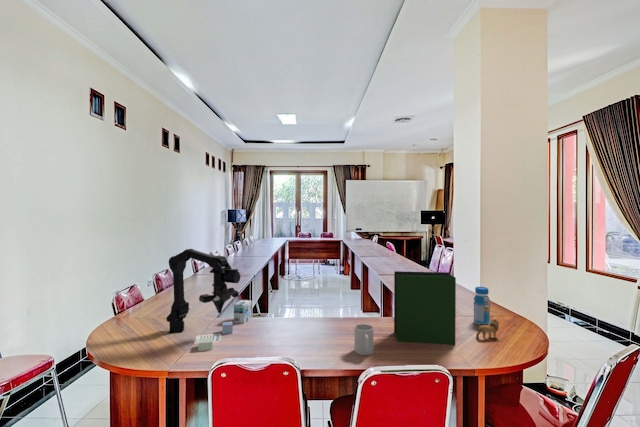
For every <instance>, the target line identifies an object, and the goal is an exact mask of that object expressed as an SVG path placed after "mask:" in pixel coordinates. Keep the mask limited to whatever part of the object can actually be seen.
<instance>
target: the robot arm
mask: <svg viewBox="0 0 640 427" xmlns="http://www.w3.org/2000/svg"><path fill="white" fill-rule="evenodd" d="M191 259H192V260H195V261H197V262H198V261H199V262H202V263H204V264H207V265H208V266H209V267H210V268H211V270H209V273H211V274H213V283H212V288H213V291H212V295H210V294H208V293H205V294H200V295H199V297H198V301H199V302H201V303H203V304H204V303H205V304H206V303H211V302H212V304H214V306H215V309H216V311H217V314H221V312H222V311H223V308H224V305H225V303H226V302H227V301H229V300H230V299H231V297H232V298H239V295H240V294H239V293H240V292H239V291H238V290H237V289H236V290H235V288H234V287H229V288H228V285H227V283H229V284H238V283H239V282H240V280H241V273H240V272H239V269H238V268H234V269H233V268H232V266H231V265H230V263H229V262H228V260H227V257H226V256H224V255H211V254H208V253H206V252H202V251H199V250H196V249H193V248H186V249H185V250H183V251H182V252H179V253H178V254H175V255H173V256H170V258H169V259H168V265H169V269H170V271H171V273H172V281H173V282H172V283H173V303H172V305H171V307H170V308H171V309H170V313H169V314H168V315H167V316H166V322H168V323H169V332H168V334H169V335H170V334H171V335H172V334H179V333H183V331H185V320H184V319H185V318H186V317H187V315H188V313H189V311H190V303H189V302H188V301H186V299H185V287H184V286H185V285H184V284H185V283H184V281H185V279H184V271H185V269H186V266H187V262H188V261H189V260H191Z"/></svg>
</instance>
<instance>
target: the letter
mask: <svg viewBox="0 0 640 427" xmlns="http://www.w3.org/2000/svg"><path fill="white" fill-rule="evenodd" d="M211 337H213V343H219V342H221V340H222V333H212V334H200V335H196V336H195V339H194V342H193V345H197V344H198V343H199V339H200V338H211Z"/></svg>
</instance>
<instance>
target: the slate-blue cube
mask: <svg viewBox="0 0 640 427" xmlns="http://www.w3.org/2000/svg"><path fill="white" fill-rule="evenodd" d="M233 324H234V320H233V321H223V322H222V327H221V328H222V330H221V331H222V332H221V335H231V334H233Z"/></svg>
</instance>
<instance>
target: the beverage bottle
mask: <svg viewBox="0 0 640 427" xmlns="http://www.w3.org/2000/svg"><path fill="white" fill-rule="evenodd" d="M474 290H475V295H474V298H473V300H474V302H473V322H474V323H475V324H477V323H478V324H477V325H480V324H488V325H490V324H489V323H490V320H491V319H490V315H491V314H490V312H491V304H490V302H491V300H490V298H489V287H485V286H476V287H475V289H474Z"/></svg>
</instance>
